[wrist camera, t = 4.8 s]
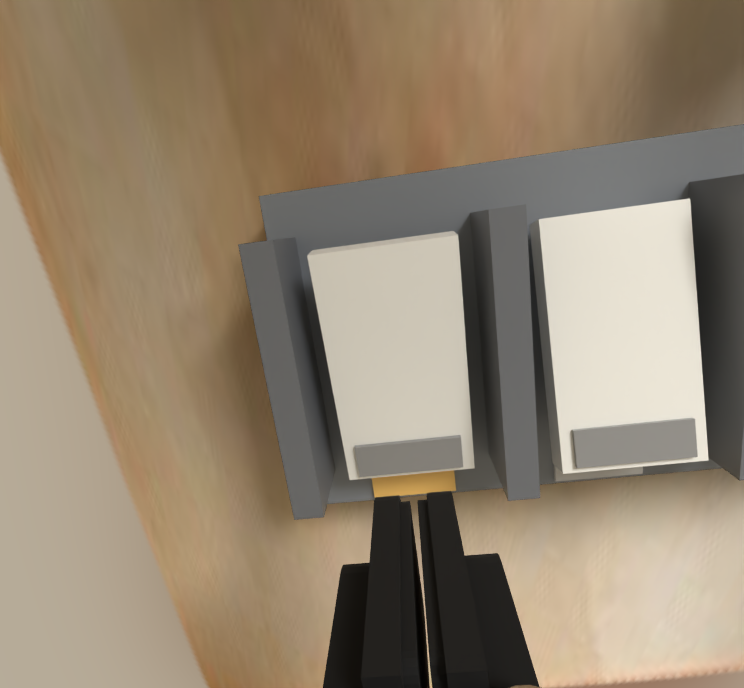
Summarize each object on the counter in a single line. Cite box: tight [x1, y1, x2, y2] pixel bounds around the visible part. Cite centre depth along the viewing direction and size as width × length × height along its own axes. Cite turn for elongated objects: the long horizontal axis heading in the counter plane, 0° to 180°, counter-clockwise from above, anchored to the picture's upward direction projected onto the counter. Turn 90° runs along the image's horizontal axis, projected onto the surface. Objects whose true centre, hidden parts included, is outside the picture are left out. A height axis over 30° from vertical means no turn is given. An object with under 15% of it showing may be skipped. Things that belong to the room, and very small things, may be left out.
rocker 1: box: [307, 231, 475, 480], centre depth 15 cm, size 8×4×1 cm, turn 8°
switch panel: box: [238, 124, 744, 520], centre depth 16 cm, size 12×22×6 cm, turn 98°
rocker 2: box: [530, 198, 709, 474], centre depth 14 cm, size 8×4×1 cm, turn 8°
